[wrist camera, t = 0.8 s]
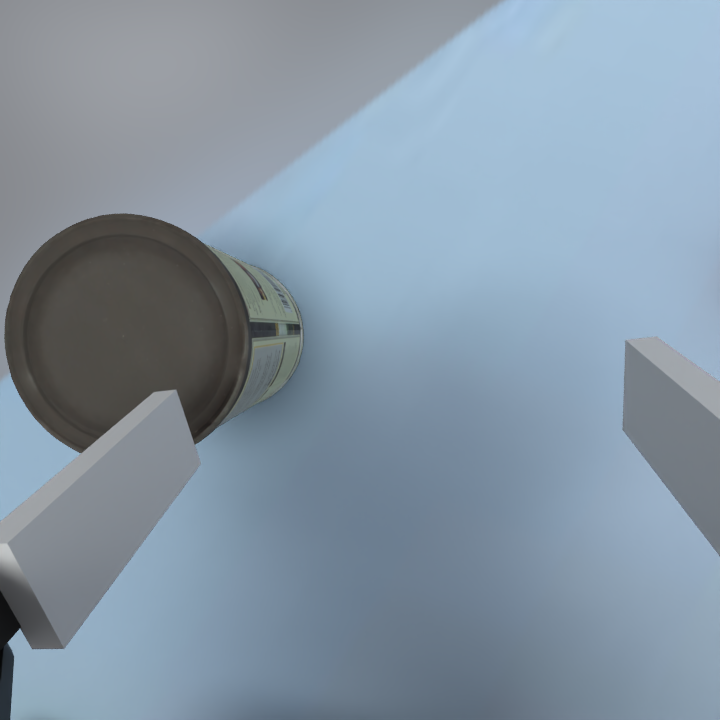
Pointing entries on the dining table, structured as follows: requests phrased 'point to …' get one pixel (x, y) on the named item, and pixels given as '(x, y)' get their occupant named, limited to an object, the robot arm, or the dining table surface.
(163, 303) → the coffee can
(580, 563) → the dining table surface
